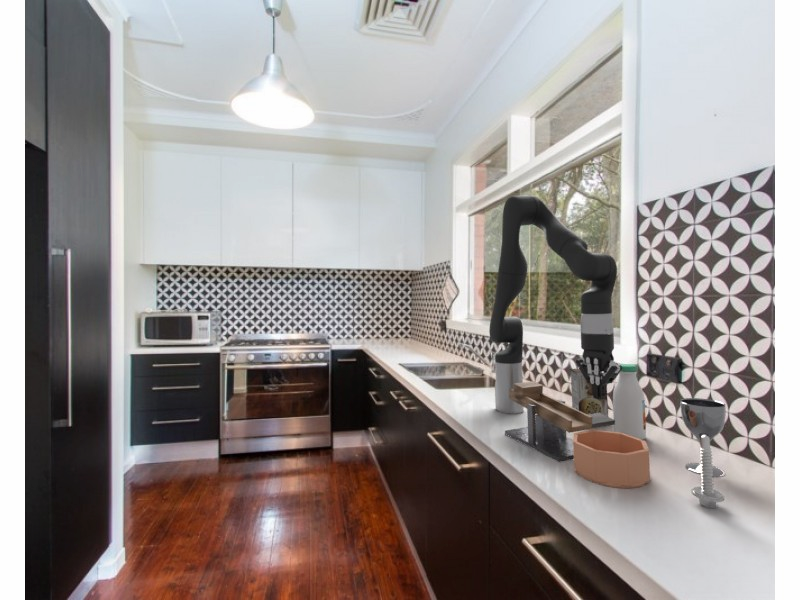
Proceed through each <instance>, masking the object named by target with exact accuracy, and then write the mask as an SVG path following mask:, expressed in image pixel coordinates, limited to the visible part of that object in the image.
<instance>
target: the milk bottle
mask: <svg viewBox="0 0 800 600" xmlns="http://www.w3.org/2000/svg"><path fill="white" fill-rule="evenodd" d="M618 365H621V366H622V370H621V371H620V373H619V374H618V379H617V382H616V384H615V386H614V388H613V392H612V393H613V394H612V404H613V405H612V408H613V409H612V410H613V411H612V412H613V419H614V420H615V425H613V432H619V433H624V434H626V435H629V436H632V437H635V438H638V439H641V440H644V441H645V439H646V438H647V424H646V423H647V422H646V401H645V394H644V391H643V388H642V387H641V384H640V383H639V380H638V378H637V374H638V367H637V365H636V364H630V363H620V364H618Z"/></svg>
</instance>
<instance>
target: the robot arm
mask: <svg viewBox="0 0 800 600" xmlns="http://www.w3.org/2000/svg"><path fill="white" fill-rule="evenodd" d="M531 225H532V226H535V227H537V228H538V229H540V230H542V232H543V233H544V238H545V240H546V243H547V246H548V247H549V248H550V250H552V251H553V252H554V253H555V254H557V255H558V256H559V257H560V258H561V259H562V260H564V262H565V263H566V266H567V268H568V269H569V270H570V271H571V273H572V274H573V275H574V276H575V277H577V278H578V279H579V280H582V281H586V282H590V287H589V289H587V290H586V291H583V292H582V293H581V295H580V315H581V316H580V348H581V349H582V350H583V352H582V357H581V358H579V359H576V360H575V363H576V365H577V367H578V369H580V371H581V372H582V374H583V376H584V378H585V379H586V380H589V381H590V382H591V384H592V395H593V398H594V399H598V400H601V399H604V397H605V385H606V384H607V385H608V384H613V382H614V381H615V379H616V378H617V377H618V376H619V373H620V371H621V370H622V366H621V365H619V364H617V363H616V361H615V359H614V358H615V357H614V356H613V351H614V349H615V339H614V338H615V335H614V334H615V333H614V319H613V313H612V311H613V310H612V309H613V308H612V307H613V305H612V304H613V303H612V295H613V292H614V289H615V283H616V280H617V275H618V266H617V262H616V260H615V259H614V257H613V256H612V255H611V254H608V253H592V252H590V251H588V249H589V248H588V247H589V246H588V244H587V242H586V241H585V240H584V239H583V238H581V237H580V236H578V235H577V233H575V232H573V231H572V230H571V229H569V228H568V227H567V226H565V224H564V223H562V222H561V220H560V219H559V218H557V216H556V215H555V214H554V213H553V212H552V210H551V209H550V208H549V207H548V205H546V203H544V201H543V200H542V199H541V198H539V197H538V196H536V195H533V194H527V195H514V196H513V195H512V196H510V197H508V198H507V200H506V201H505V202H504V206H503V209H502V229H501V231H502V232H501V235H502V236H501V246H500V247H501V249H500V256H499V257H500V258H499V263H498V271H497V279H496V290H495V297H494V304H493V307H492V308H493V309H492V312H491V318H490V323H489V330H488V332H489V337H490V340H491V342H493V343H496V344H508V346H507V347H506V348H505V349H503V350H501V351H499V352H497V353H495V355H494V362H495V369H494V370H495V381H494V390H495V391H494V396H495V398H494V399H495V401H494V402H495V409H496V411H498V412H500V413H504V414H521V413H523V412H524V410H525V409H524V408H525V407H523V406H521V405H520V404H518V403H516V402H514V401H513V400H511V399H509V389H514V384H515V383H524V382H523V378H524V377H523V375H524V374H523V352H524V350H523V346H524V345H523V344H524V343H523V342H524V340H523V339H524V325H523V321H522V319H521V318H520V317H518V316H506V314H507V312H508V309H509V307H510V305H511V304H512V303H513V301H515V300H516V298H517V297H518V296H519V294H520V293H521V292H522V291H523V290H524V288H525V285H526V280H527V274H528V261H527V258H526V257H525V254H524V253H523V250H522V248H521V244H520V232H521V227H522V226H531ZM593 370H594V371H593ZM587 372H588V373H587ZM588 374H589V375H588ZM595 376H596V377H595ZM601 376H602V379H601Z"/></svg>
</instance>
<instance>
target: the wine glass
mask: <svg viewBox="0 0 800 600" xmlns="http://www.w3.org/2000/svg"><path fill="white" fill-rule="evenodd" d="M679 404H680V405H679V406H680V413H681V418H682V421H683V424H684V426H685V427H686V428H687V430H688V431H689V432H690V433H691V434H692V435H693V436H694V437H695V438H696V439H697V441H698V443H699V445H700V447H701V436H703V435H706V436H708V437H709V439H710V442H711V441H712V440H713V439H714V438H715V437H717V436H718V435H719V434H721V432H722V431H723V429H724V426H725V423H726V418H727V417H726V412H727V411H726V410H727V409H726V404H725V403H723V402H722V401H718V400H712V399H707V398H697V397H685V398H681V399H680V403H679ZM684 467H685V469H686V470H687V471H689V472H691V473H694V474H697V475H700V476H702V475H701V473H702V472H701V471H700V470H701V468H700V467H701V465H700V464H699V462H690V464H689V463H686V464H685V465H684ZM712 467H713V469H712V471H713V472H712V474H713V478H715V477H714V476H717V477H716V478H719V477H718V476H720V475H722V474H723V472H722V471H721V470H720V469H721V468H720V469H718V468H719V467H717V466H714V465H713V466H712ZM716 467H717V468H716Z"/></svg>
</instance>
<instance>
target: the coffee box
mask: <svg viewBox="0 0 800 600" xmlns="http://www.w3.org/2000/svg"><path fill="white" fill-rule="evenodd" d="M593 371H594V370H593ZM587 373H588V372H587ZM588 375H589V374H588ZM595 377H596V376H595ZM601 379H602V376H601ZM570 382H571V383H570V386H571V388H570V389H571V407H573V408H575V409H577V410H579V411H581V412H583V413H585V414H594V413H601V414H603V415H605V416H607V417H609V404H608V402H609V401H608V386H607V385H608V384H606V385H605V397H604V399H601V400H598V399H594V398H593V395H592V384H591V382H590V381H589V380H586V379H585V378H584V376H583V374H582V372H581V371H580V369H579V368H570Z"/></svg>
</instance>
